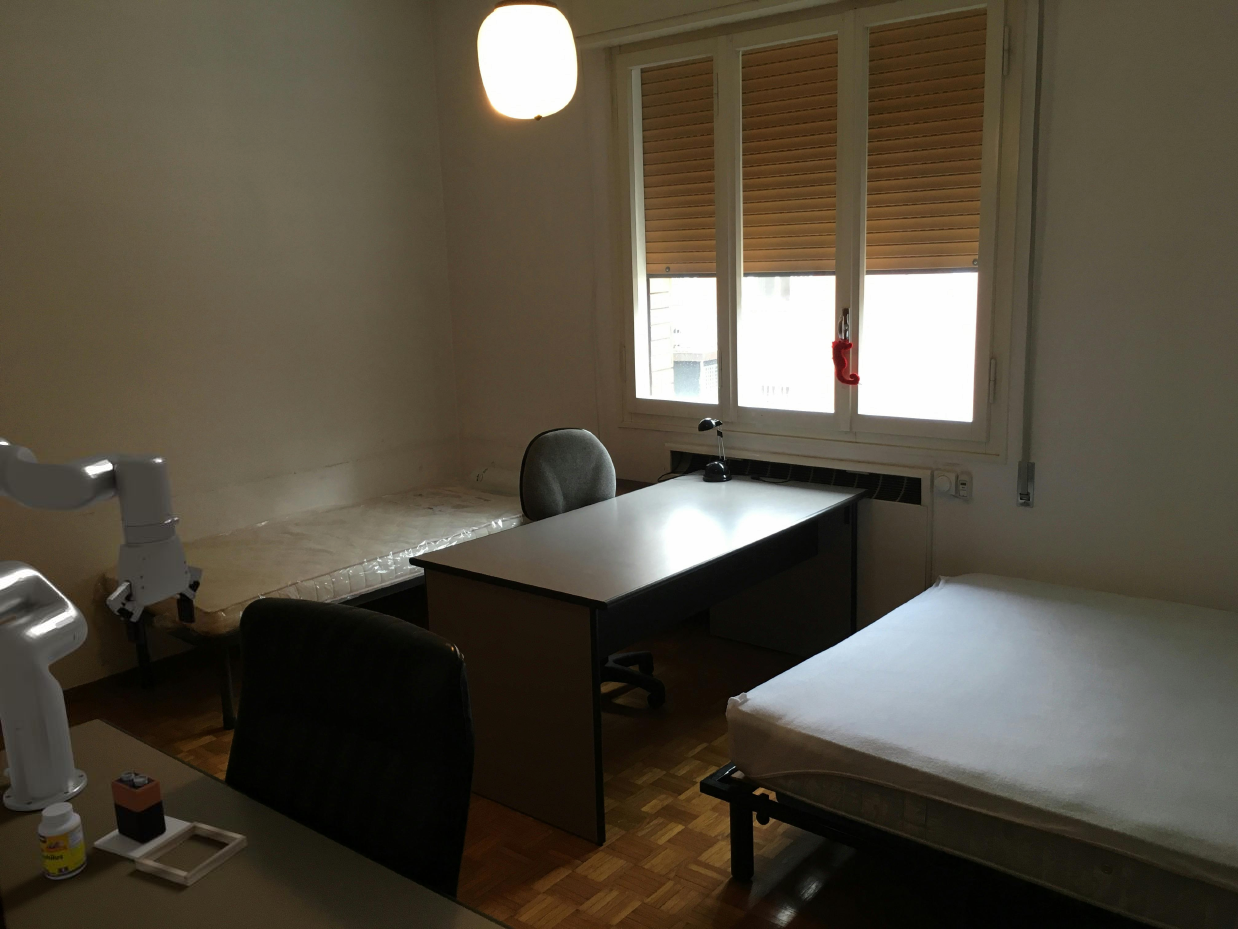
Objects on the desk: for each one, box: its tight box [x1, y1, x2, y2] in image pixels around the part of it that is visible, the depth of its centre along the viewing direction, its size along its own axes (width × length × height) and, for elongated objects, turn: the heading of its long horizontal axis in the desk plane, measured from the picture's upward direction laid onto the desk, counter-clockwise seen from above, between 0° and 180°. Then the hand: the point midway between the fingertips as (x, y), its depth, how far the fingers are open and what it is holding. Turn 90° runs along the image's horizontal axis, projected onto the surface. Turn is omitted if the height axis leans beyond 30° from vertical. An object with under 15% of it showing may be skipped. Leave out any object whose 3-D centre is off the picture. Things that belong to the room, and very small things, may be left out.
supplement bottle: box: [37, 801, 88, 881], centre depth 145 cm, size 6×6×10 cm
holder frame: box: [134, 821, 248, 887], centre depth 148 cm, size 11×11×2 cm
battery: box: [110, 770, 166, 844], centre depth 153 cm, size 4×7×10 cm, turn 59°
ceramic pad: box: [93, 814, 192, 861], centre depth 154 cm, size 10×10×1 cm
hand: (162, 632), depth 159 cm, fingers open, 9 cm apart
